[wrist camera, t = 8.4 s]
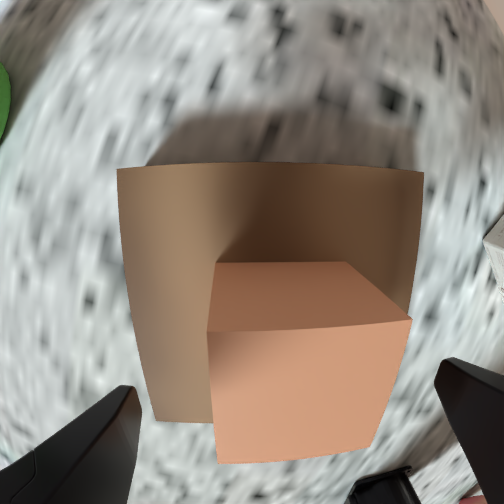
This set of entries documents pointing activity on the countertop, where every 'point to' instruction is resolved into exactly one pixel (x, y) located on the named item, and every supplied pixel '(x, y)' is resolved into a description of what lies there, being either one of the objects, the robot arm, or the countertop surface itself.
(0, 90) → the wine bottle
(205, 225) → the walnut block
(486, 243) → the supplement box
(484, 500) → the decorative fruit
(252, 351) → the terracotta cube
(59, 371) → the countertop surface
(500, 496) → the robot arm
